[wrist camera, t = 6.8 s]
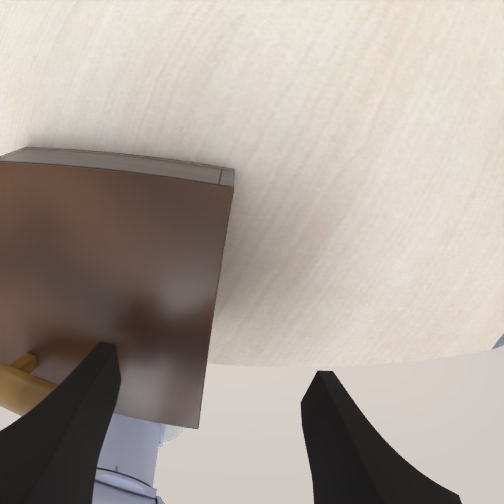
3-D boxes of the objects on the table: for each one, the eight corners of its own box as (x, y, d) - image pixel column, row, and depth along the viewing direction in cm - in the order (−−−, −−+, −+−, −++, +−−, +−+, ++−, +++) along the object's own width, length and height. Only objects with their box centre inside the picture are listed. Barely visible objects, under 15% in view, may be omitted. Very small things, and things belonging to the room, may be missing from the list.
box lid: (198, 422, 14) (195, 486, 9) (-21, 357, 12) (-67, 384, 7) (233, 190, 14) (243, 166, 9) (-12, 163, 12) (-67, 145, 7)
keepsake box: (208, 318, 22) (204, 357, 18) (37, 283, 20) (13, 312, 17) (234, 168, 17) (233, 186, 14) (25, 146, 15) (-11, 160, 12)
